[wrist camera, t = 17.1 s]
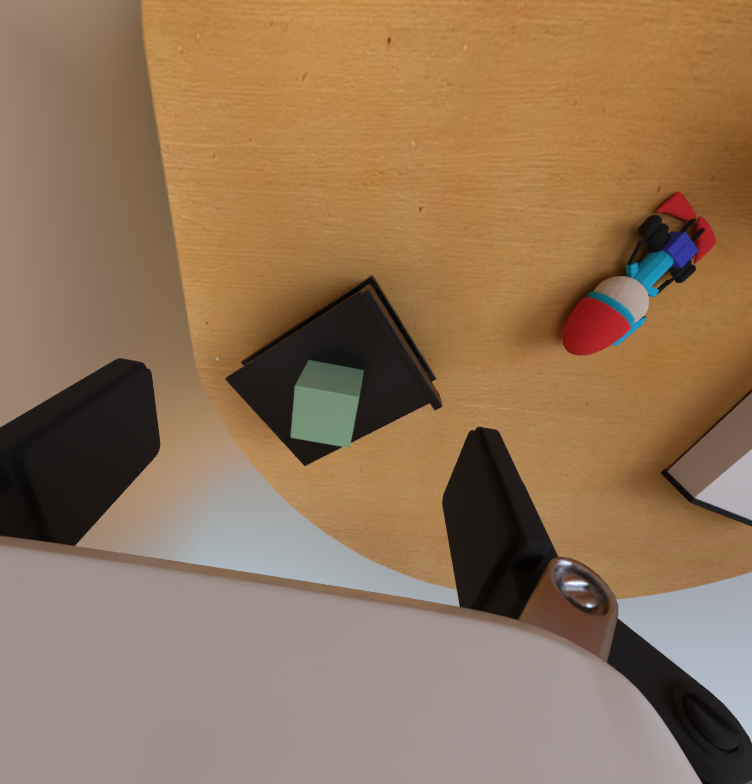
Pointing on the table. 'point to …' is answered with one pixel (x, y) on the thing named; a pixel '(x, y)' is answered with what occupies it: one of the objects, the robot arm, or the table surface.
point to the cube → (326, 403)
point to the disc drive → (720, 467)
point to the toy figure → (638, 281)
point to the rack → (344, 348)
